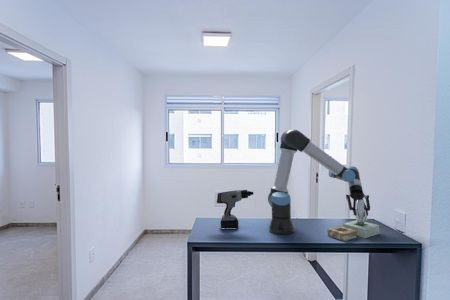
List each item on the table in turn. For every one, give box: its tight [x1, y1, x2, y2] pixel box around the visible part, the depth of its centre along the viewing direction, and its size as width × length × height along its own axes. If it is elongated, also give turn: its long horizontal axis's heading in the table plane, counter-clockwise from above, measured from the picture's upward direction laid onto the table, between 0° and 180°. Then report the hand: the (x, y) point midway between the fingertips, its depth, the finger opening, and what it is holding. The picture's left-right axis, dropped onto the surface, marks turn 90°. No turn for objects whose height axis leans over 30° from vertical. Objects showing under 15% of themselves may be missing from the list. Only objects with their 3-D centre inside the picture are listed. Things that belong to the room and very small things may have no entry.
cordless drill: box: [216, 189, 254, 229], centre depth 179 cm, size 8×24×25 cm, turn 89°
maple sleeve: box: [327, 225, 358, 242], centre depth 158 cm, size 11×11×4 cm
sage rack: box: [342, 220, 380, 239], centre depth 164 cm, size 14×14×5 cm
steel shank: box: [356, 198, 365, 227], centre depth 164 cm, size 4×4×18 cm
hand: (362, 220), depth 160 cm, fingers closed on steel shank, 4 cm apart
